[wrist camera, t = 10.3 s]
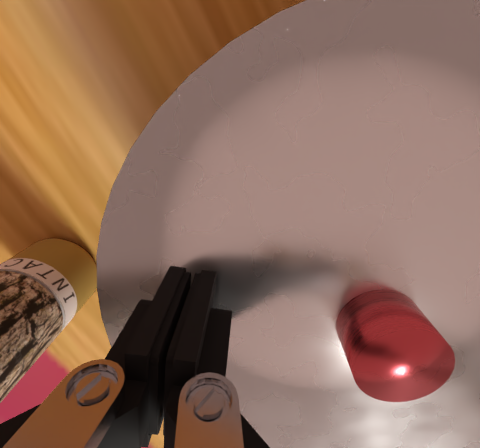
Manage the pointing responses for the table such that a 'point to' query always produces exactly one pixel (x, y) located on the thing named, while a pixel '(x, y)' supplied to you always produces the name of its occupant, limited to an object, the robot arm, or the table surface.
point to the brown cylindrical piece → (39, 302)
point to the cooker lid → (323, 220)
